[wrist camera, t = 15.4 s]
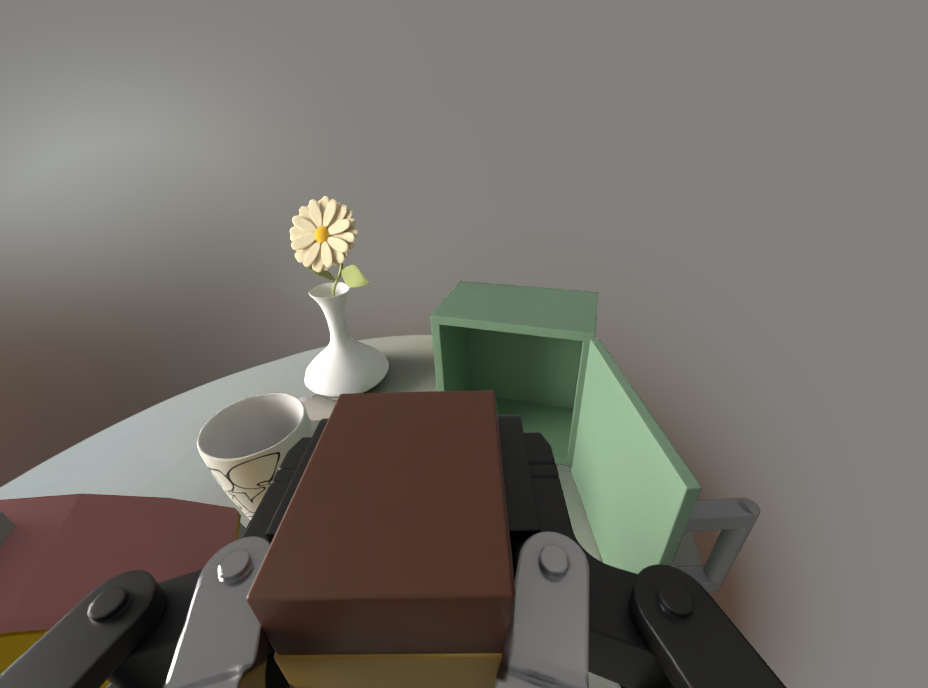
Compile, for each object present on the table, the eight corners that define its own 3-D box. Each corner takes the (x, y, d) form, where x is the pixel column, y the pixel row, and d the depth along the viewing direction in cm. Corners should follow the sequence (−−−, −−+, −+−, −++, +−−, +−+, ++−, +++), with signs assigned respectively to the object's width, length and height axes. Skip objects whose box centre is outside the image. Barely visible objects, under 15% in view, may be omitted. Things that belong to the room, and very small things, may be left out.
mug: (356, 450, 43) (338, 377, 38) (364, 513, 36) (343, 433, 31) (243, 480, 40) (208, 404, 35) (229, 554, 33) (183, 473, 28)
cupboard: (575, 467, 40) (595, 333, 32) (441, 439, 44) (429, 315, 36) (580, 412, 48) (598, 291, 40) (465, 393, 52) (460, 280, 44)
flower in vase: (291, 385, 55) (232, 197, 42) (356, 351, 62) (323, 183, 49) (348, 423, 47) (298, 210, 35) (415, 379, 55) (393, 191, 42)
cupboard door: (628, 468, 40) (661, 335, 32) (715, 635, 27) (806, 481, 19) (571, 471, 40) (590, 339, 32) (630, 640, 27) (686, 488, 19)
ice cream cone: (371, 392, 38) (251, 394, 43) (369, 456, 37) (246, 452, 42) (399, 394, 44) (291, 396, 49) (398, 450, 43) (287, 447, 47)
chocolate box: (507, 782, 10) (520, 600, 6) (345, 782, 10) (237, 604, 6) (494, 576, 14) (496, 387, 10) (383, 577, 14) (338, 391, 10)
